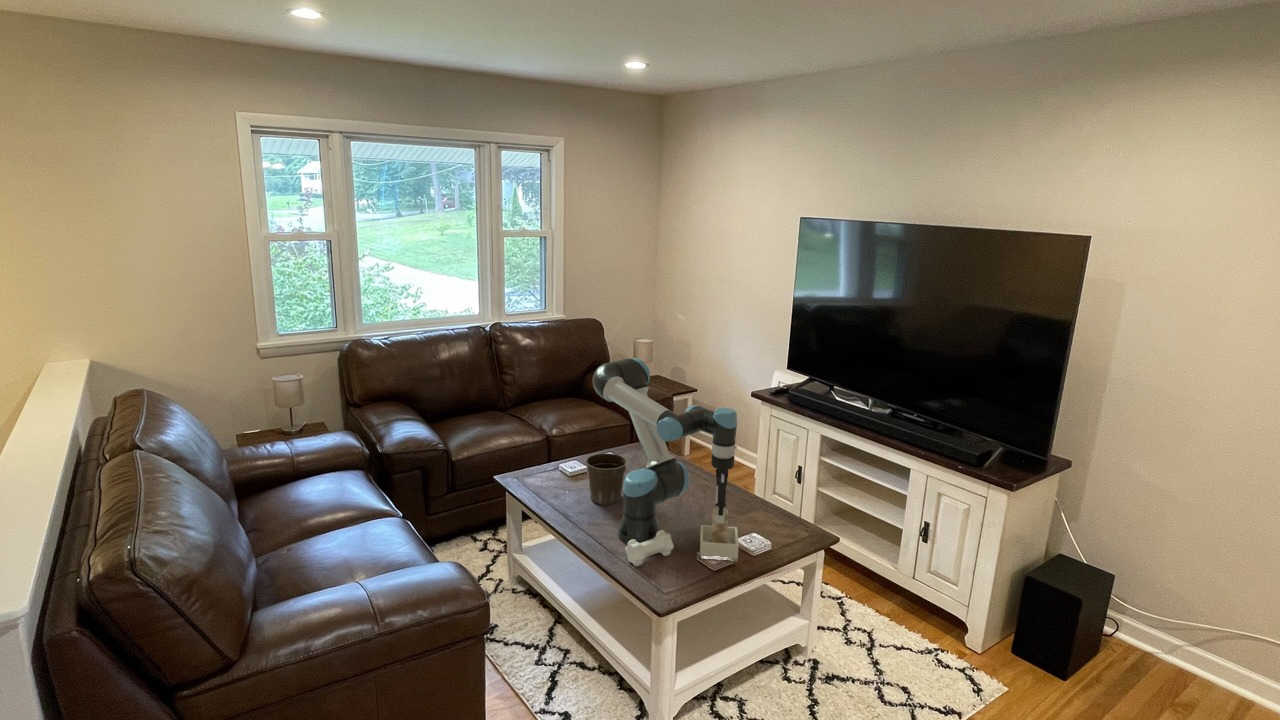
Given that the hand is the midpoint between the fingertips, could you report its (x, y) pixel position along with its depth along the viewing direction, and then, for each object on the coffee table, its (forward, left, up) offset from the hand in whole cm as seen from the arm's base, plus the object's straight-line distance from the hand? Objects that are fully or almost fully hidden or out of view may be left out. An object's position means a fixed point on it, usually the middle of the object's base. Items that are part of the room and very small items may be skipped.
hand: (719, 513), depth 227 cm
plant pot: (-44, +35, -14) cm, 58 cm away
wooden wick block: (0, 0, -13) cm, 13 cm away
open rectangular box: (0, 0, -14) cm, 14 cm away
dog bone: (-23, -8, -14) cm, 28 cm away
